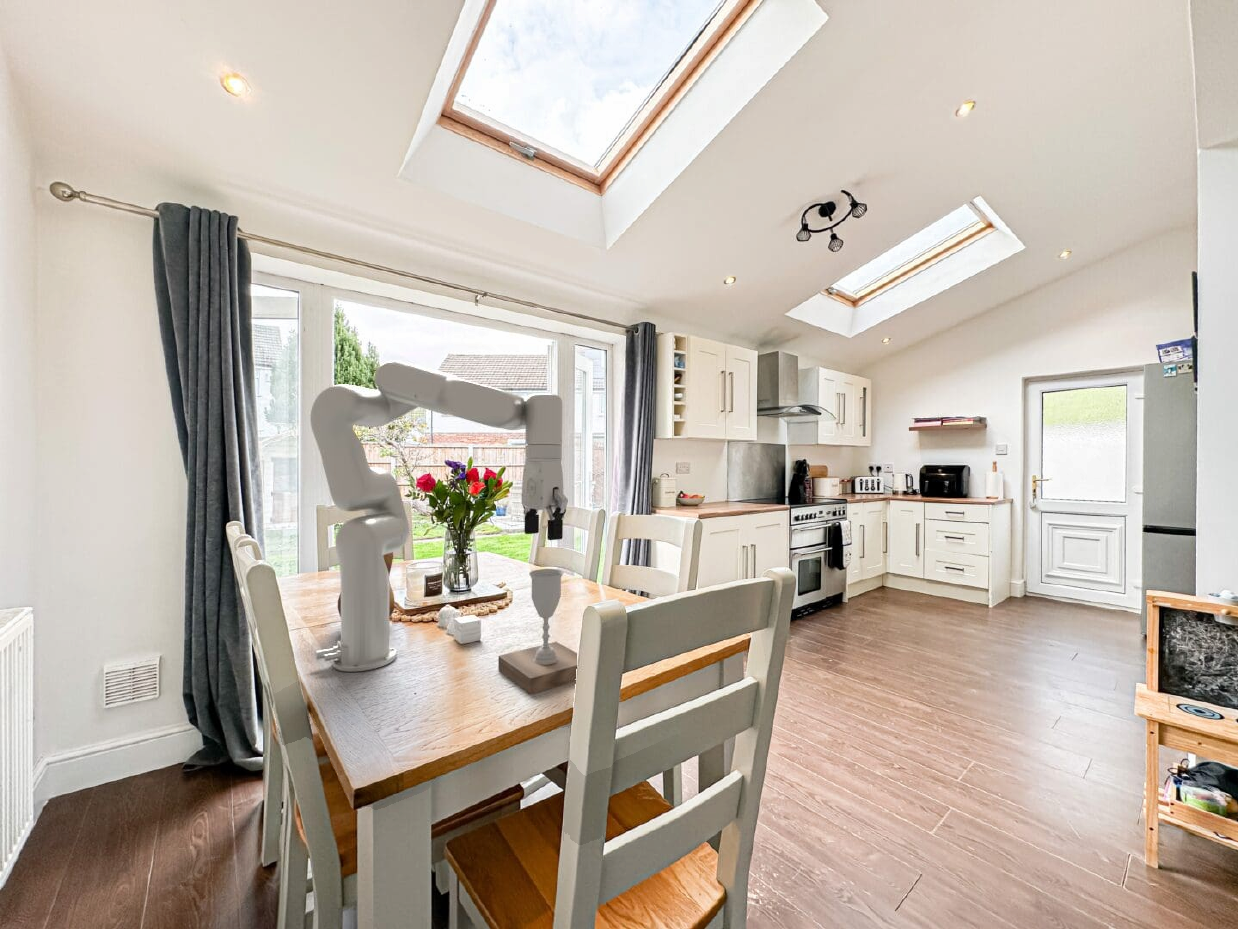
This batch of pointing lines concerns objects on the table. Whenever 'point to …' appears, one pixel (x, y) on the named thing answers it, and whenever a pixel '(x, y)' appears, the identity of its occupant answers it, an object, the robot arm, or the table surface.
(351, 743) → the table surface
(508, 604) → the table surface
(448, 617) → the container set
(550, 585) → the chalice
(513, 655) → the walnut plinth
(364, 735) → the table surface
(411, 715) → the table surface
